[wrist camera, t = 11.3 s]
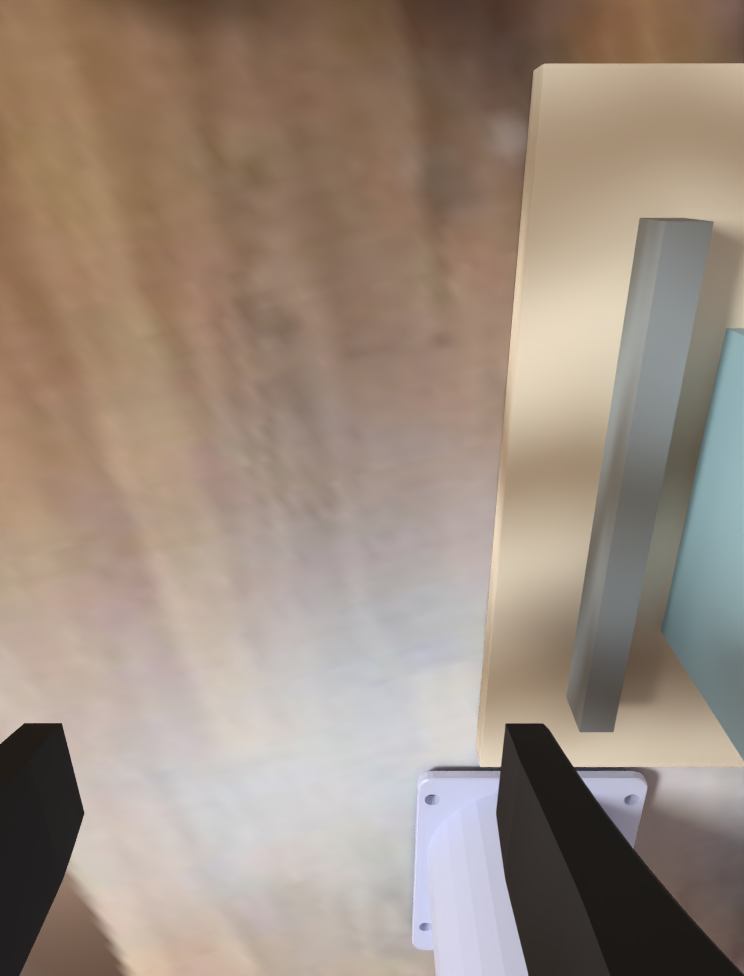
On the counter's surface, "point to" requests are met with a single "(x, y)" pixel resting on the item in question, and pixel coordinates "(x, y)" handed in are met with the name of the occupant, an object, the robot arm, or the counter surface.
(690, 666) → the pale blue tall carton
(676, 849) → the counter surface
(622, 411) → the jig board
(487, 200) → the counter surface
